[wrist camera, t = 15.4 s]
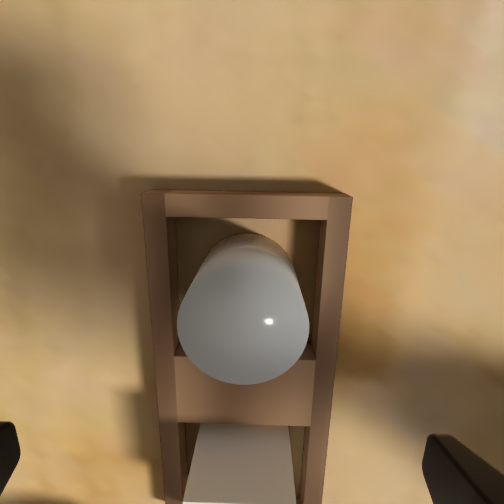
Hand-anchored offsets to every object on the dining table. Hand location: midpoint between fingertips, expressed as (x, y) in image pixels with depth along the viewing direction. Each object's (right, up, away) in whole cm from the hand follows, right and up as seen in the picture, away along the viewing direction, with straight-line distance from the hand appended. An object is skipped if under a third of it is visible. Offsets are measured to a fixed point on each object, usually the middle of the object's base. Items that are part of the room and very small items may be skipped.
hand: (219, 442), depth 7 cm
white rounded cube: (0, -8, +13) cm, 15 cm away
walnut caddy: (0, -3, +11) cm, 11 cm away
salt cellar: (0, +3, +10) cm, 10 cm away
